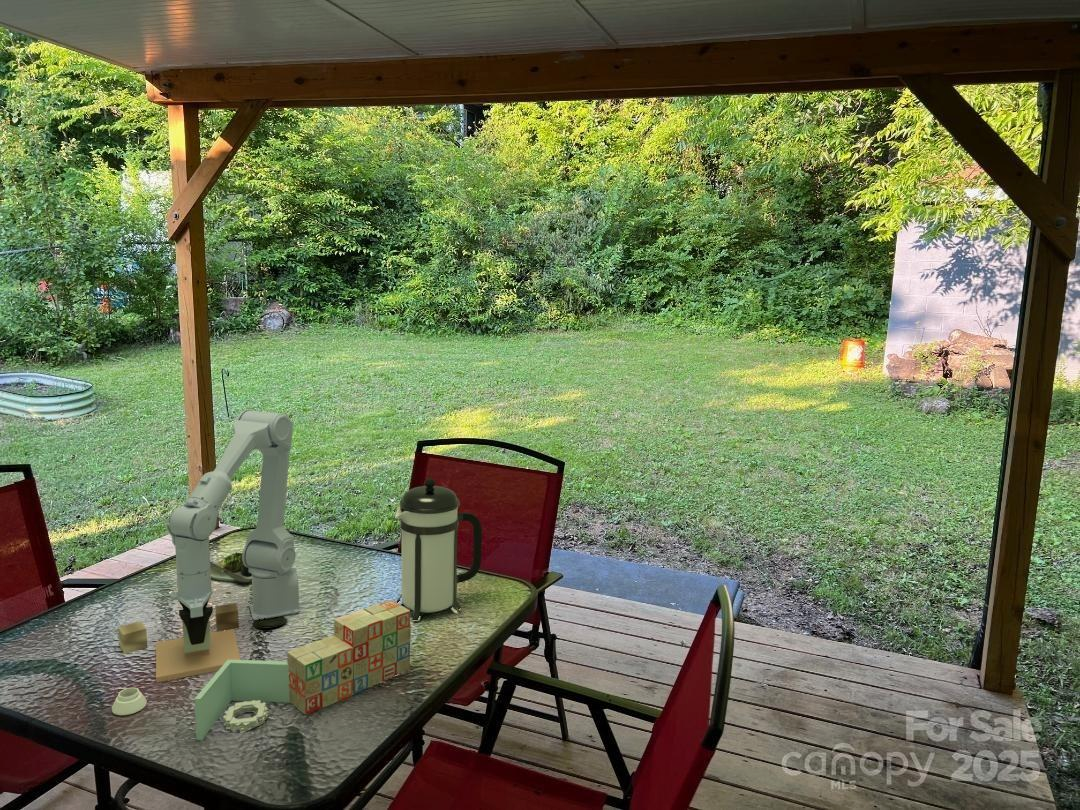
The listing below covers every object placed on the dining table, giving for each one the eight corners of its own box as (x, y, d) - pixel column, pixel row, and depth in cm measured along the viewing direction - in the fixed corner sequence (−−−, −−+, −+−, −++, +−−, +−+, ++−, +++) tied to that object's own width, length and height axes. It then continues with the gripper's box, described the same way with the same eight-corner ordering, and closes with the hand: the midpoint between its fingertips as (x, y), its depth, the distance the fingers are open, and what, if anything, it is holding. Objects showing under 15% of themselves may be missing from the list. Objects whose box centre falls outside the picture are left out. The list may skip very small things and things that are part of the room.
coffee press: (448, 630, 153) (450, 491, 148) (381, 616, 158) (381, 482, 153) (481, 597, 169) (484, 471, 164) (420, 586, 174) (420, 464, 169)
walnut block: (236, 620, 154) (236, 602, 153) (238, 628, 150) (238, 610, 150) (216, 624, 152) (215, 606, 151) (217, 632, 148) (216, 614, 148)
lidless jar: (153, 702, 124) (126, 698, 125) (152, 686, 123) (126, 682, 124) (132, 719, 119) (105, 715, 120) (131, 702, 118) (103, 698, 119)
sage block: (209, 637, 141) (208, 608, 140) (210, 648, 137) (209, 618, 136) (183, 642, 139) (182, 612, 138) (184, 653, 135) (182, 623, 134)
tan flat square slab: (234, 633, 148) (234, 628, 148) (240, 666, 136) (240, 661, 136) (156, 647, 142) (156, 642, 141) (156, 682, 129) (155, 677, 129)
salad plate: (182, 581, 173) (181, 563, 172) (227, 554, 190) (226, 537, 189) (256, 590, 169) (255, 571, 169) (295, 562, 187) (295, 545, 186)
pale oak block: (142, 640, 144) (140, 621, 144) (147, 647, 141) (146, 628, 141) (119, 646, 142) (117, 627, 141) (124, 654, 139) (122, 634, 138)
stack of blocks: (305, 717, 121) (303, 648, 119) (287, 701, 125) (285, 634, 123) (410, 671, 136) (411, 609, 134) (391, 658, 141) (391, 598, 139)
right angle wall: (196, 742, 114) (194, 698, 113) (229, 699, 126) (227, 659, 125) (273, 745, 114) (271, 701, 113) (298, 702, 126) (297, 661, 125)
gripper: (169, 558, 140) (172, 624, 143) (170, 587, 128) (173, 659, 130) (209, 553, 144) (212, 618, 146) (214, 581, 131) (217, 651, 133)
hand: (196, 637), depth 138 cm, fingers closed on sage block, 4 cm apart
